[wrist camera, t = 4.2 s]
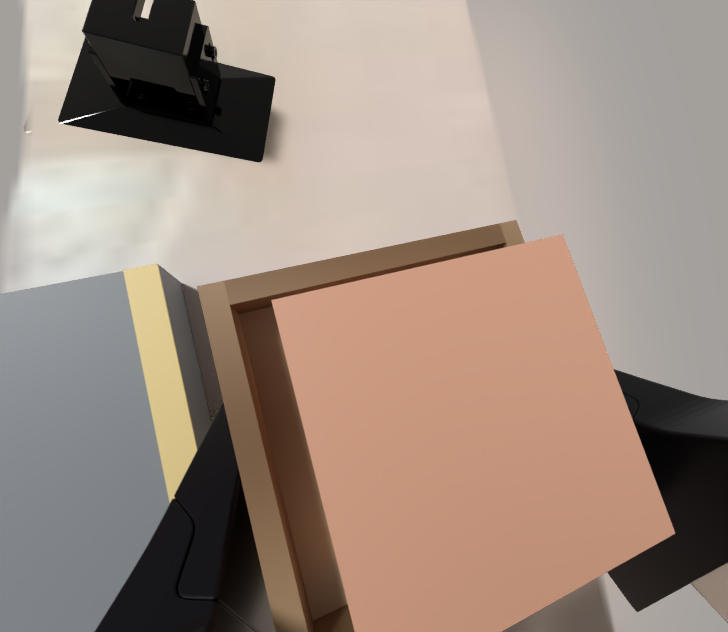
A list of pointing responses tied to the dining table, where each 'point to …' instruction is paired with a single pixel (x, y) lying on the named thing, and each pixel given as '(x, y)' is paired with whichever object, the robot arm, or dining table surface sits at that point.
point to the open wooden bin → (297, 418)
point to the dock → (90, 439)
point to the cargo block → (468, 439)
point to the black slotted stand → (165, 82)
